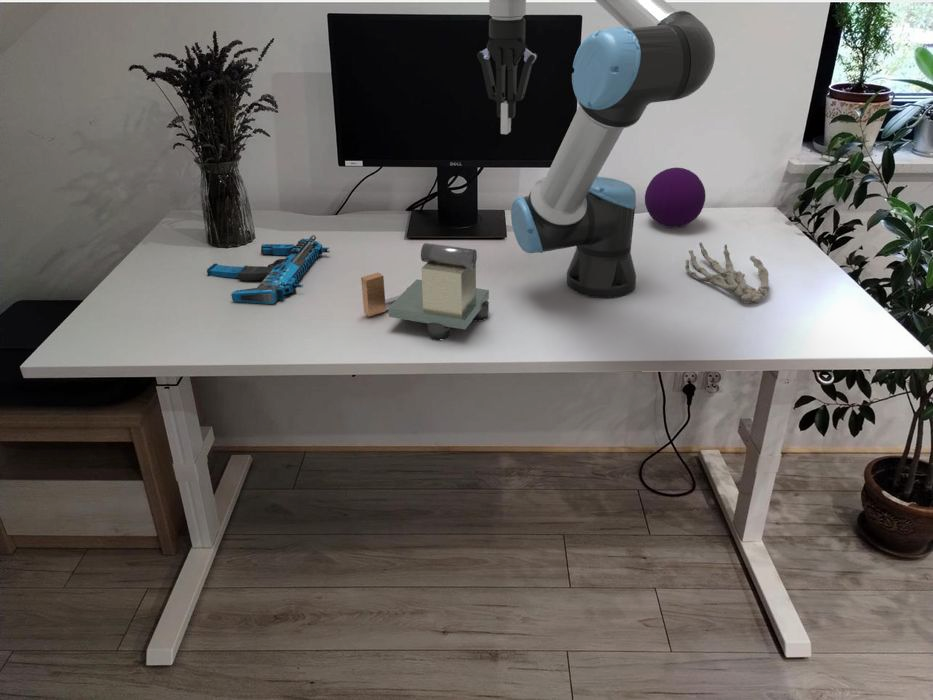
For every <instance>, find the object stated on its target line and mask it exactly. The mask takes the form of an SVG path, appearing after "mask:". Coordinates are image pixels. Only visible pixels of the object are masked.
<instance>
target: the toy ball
mask: <svg viewBox="0 0 933 700" xmlns="http://www.w3.org/2000/svg"><path fill="white" fill-rule="evenodd" d="M705 202H706V188H705V186H704V183H703V182H702V180H701V179H700V177H699V176H698V175H697V174H696V173H695V172H693V171H691V170H690V169H687V168H684V167H670V168H667V169H664V170H662V171H660V172H658V173H657V174H656V175H655V176H653V178H652V179H651V180H650V182H649V184H648V185H647V188H646V190H645V193H644V205H645V208H646V210H647V213H648V215H649V217H651V219H652V220H653V221H655V222H656V223H657V224H659V225H661V226H663V227H668V228H680V227H681V228H682V227H684V226H686V225H688V224H690V223H692V222H693V221H694V220H696V219H697V218H698V217H699V215H700V214H701V212H702V210H703V208H704V206H705Z"/></svg>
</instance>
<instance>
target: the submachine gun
mask: <svg viewBox="0 0 933 700" xmlns="http://www.w3.org/2000/svg"><path fill="white" fill-rule="evenodd" d="M316 240H317V236H316V235H315V234H312V235H311V236H310V237H309V238H300V240H297V244H293V243H281V244H280V243H262V244H261V247H260V252H261V254H264V255H273V256H286V257H285V258H278V259H276V260H274V261H273V262H272V263H270V264H268V265H267V266H263V265H262V266H260V265H259V266H256V265H255V266H254V265H244V266H234V265H221V264H218V263H216V262H215V263H213V264H212V265H210V266H209V267H208V268H207V270H206V273H207V274H206V275H207V277H210V276H212V277H221V278H233V279H235V278H238V279H239V281H245V282H246V281H260V283H259V284H258V285H257V287H253V288H246V289H244V288H243V289H238V290H235V291H232V293H231V294H230V296H231V300H232V302H236V303H248V304H249V303H252V304H264V305H265V304H266V305H273V304H276V302H277V301H278V300H285V299H286V296H287V295H288V294H292V293H293V295H295V294H297V288H303V287H304V285H303V284H298V283H299V281H300V280H301V279H302V278H303V276H304V275H305V273H306V272H307V271H308V269H309V268H310V267H311V266H312V264H314V262H315V260H316V259H317V258H318V257H321V256H322V255H323V254H325V253H330V252H331V251H330V247H323V244H321V243H320V242H319V241H316ZM294 293H295V294H294ZM284 295H286V296H284Z"/></svg>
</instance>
